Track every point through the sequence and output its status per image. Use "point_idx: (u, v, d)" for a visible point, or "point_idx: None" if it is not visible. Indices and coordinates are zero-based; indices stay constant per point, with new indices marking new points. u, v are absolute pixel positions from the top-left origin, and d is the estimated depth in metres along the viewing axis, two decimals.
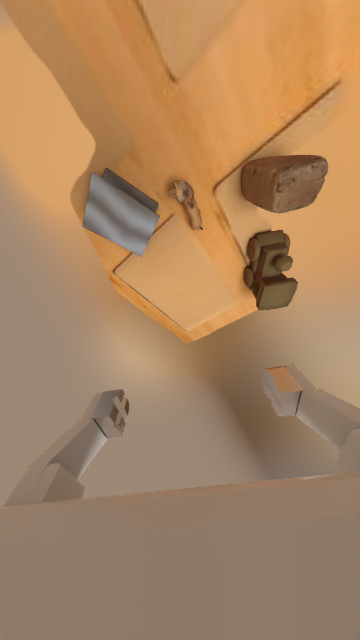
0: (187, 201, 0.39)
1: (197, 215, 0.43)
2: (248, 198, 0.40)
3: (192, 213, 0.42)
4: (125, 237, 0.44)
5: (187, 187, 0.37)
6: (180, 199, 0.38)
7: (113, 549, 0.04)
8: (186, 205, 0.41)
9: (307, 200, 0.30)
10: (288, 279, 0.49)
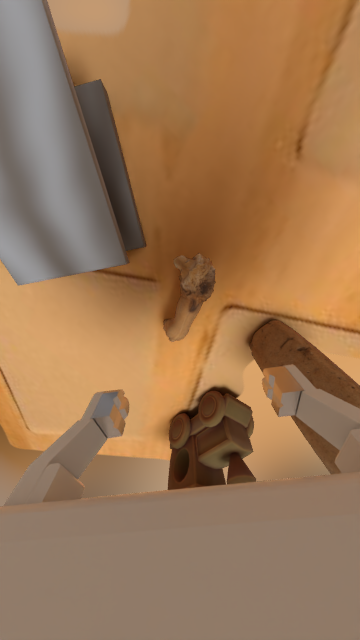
0: (194, 298, 0.18)
1: (187, 326, 0.21)
2: (263, 364, 0.23)
3: (182, 317, 0.21)
4: (5, 216, 0.14)
5: (213, 282, 0.17)
6: (188, 285, 0.17)
7: (113, 549, 0.04)
8: (185, 299, 0.20)
9: None
10: None
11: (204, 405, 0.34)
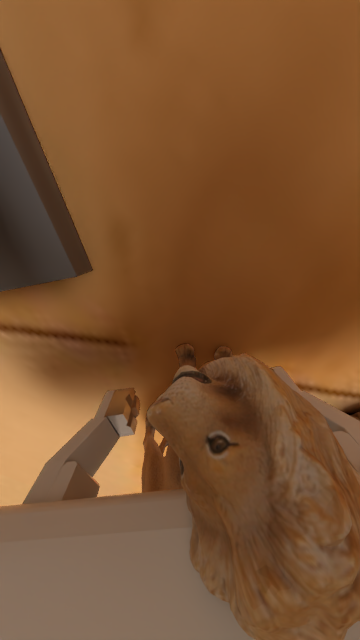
0: None
1: None
2: None
3: None
4: None
5: None
6: None
7: (113, 549, 0.04)
8: None
9: None
10: None
11: None
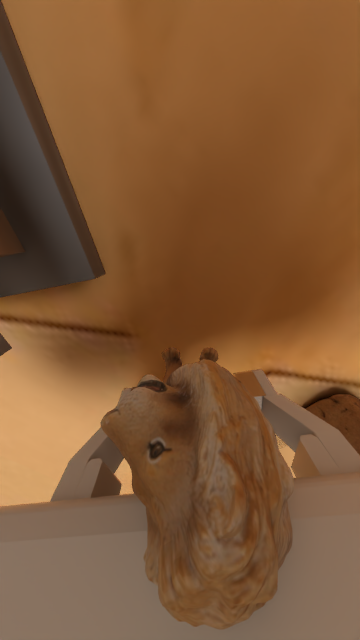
0: None
1: None
2: None
3: None
4: None
5: None
6: None
7: (113, 549, 0.04)
8: None
9: None
10: None
11: None
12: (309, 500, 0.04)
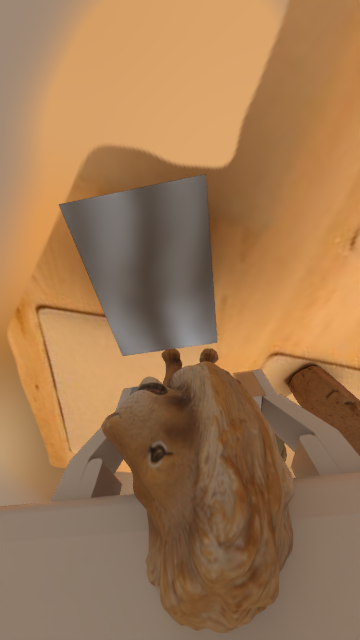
0: None
1: None
2: (310, 410, 0.27)
3: None
4: (130, 311, 0.18)
5: None
6: None
7: (113, 549, 0.04)
8: None
9: None
10: None
11: None
12: (309, 500, 0.04)
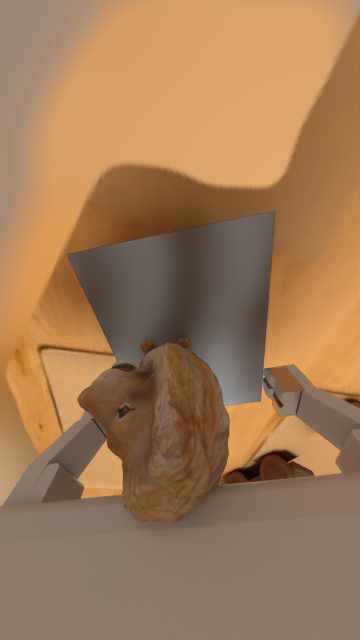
0: None
1: None
2: None
3: None
4: None
5: None
6: None
7: (113, 549, 0.04)
8: None
9: None
10: None
11: (268, 472, 0.34)
12: (309, 500, 0.04)
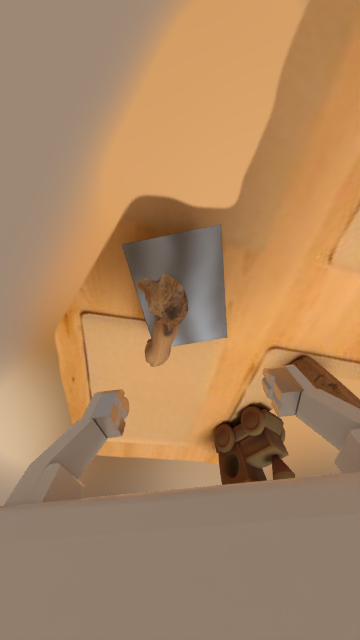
0: (164, 323, 0.16)
1: (166, 350, 0.19)
2: None
3: (159, 341, 0.19)
4: None
5: (182, 304, 0.15)
6: (153, 312, 0.15)
7: (113, 549, 0.04)
8: (158, 323, 0.18)
9: None
10: None
11: (246, 418, 0.44)
12: (309, 500, 0.04)
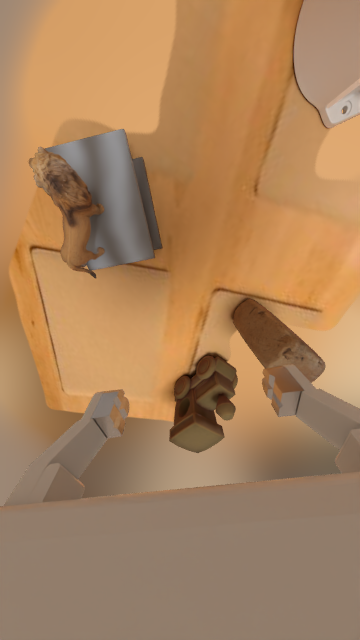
0: (58, 202, 0.18)
1: (76, 244, 0.21)
2: (239, 326, 0.35)
3: (66, 234, 0.21)
4: None
5: (68, 179, 0.17)
6: (40, 183, 0.17)
7: (113, 549, 0.04)
8: None
9: None
10: (217, 425, 0.40)
11: (200, 365, 0.46)
12: (309, 500, 0.04)
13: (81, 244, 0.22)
